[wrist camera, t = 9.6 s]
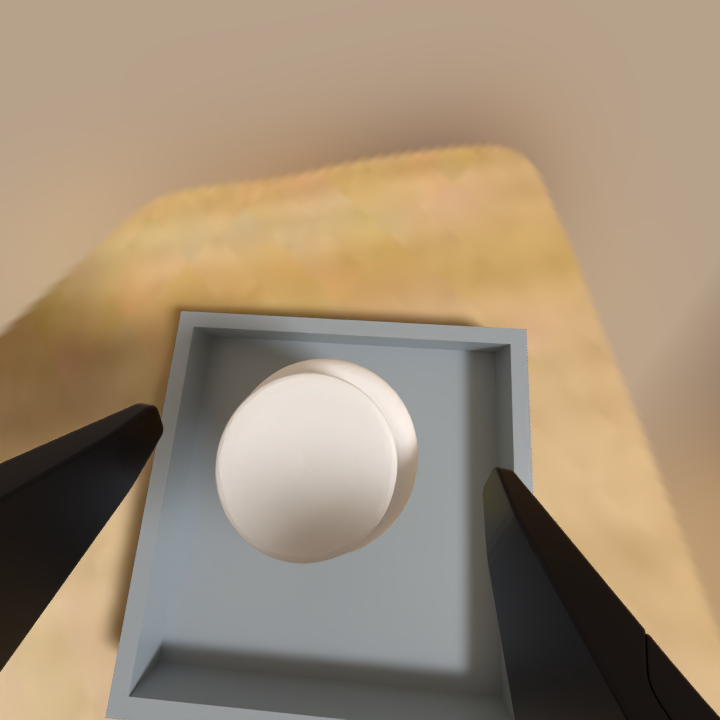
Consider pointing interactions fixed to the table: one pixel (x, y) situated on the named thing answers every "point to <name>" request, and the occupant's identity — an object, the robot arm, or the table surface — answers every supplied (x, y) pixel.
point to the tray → (337, 575)
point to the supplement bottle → (316, 461)
